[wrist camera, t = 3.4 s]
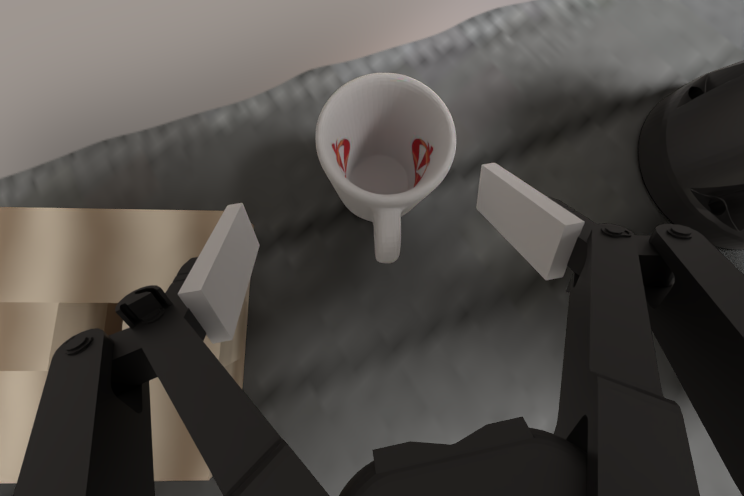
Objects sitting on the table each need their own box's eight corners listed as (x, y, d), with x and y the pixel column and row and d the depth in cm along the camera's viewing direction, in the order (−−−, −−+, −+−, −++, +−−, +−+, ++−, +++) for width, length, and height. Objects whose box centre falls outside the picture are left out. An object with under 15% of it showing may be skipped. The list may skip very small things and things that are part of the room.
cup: (431, 266, 23) (468, 254, 15) (331, 270, 23) (315, 259, 15) (422, 141, 24) (452, 69, 17) (329, 142, 24) (313, 70, 16)
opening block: (254, 224, 23) (231, 211, 19) (238, 443, 20) (208, 480, 16) (45, 221, 22) (-23, 206, 18) (4, 446, 20) (-84, 484, 16)
